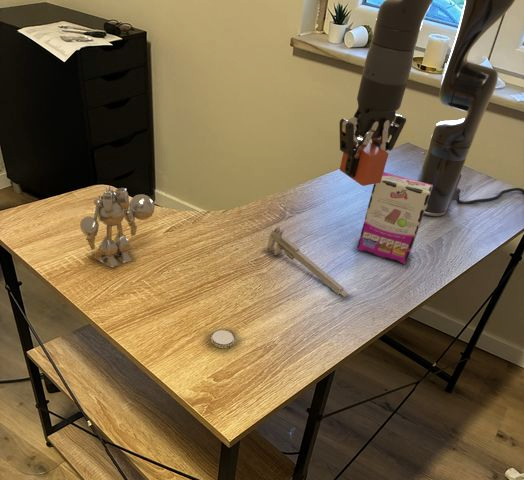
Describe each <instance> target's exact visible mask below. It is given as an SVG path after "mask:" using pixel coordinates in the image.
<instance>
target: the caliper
mask: <svg viewBox="0 0 524 480" xmlns="http://www.w3.org/2000/svg"><path fill="white" fill-rule="evenodd" d="M283 233H284V229H282V230H281V227H280V226H276V227H275V229H272V230H271V233H270V234H269V237H268V242H267V252H271V251H272V250H273V249H274V251H273V256H277V255H278V254H280V253H281V252H282V251H283V253H284V254H285V255H286V256H287V257H289V258H290V260H296V261H298V262H299V263H300V264H301V265H302V266H303V267H305V268H306V269H307V270H308V271H309V272H310V273H312V274H313V275H314V276H315V277H316V278H317V279H319V280H320V281H321V282H322V283H324V285H326V286H327V287H328V288H329V289H330V290H331V291H333V292H334V293H335V294H337V295H338V296H339V295H341V296H342V297H343V298H345V297H347V296H348V292H346V291H345V288H344V286H342V285H341V284H340V283H339V282H338V281H336V279H334V278H333V277H332V276H330V275H329V274H328V273H327V272H326V271H324V269H322V267H320V266H319V265H318V264H316V263H315V262H314V261H313V260H311V259H310V258H309V257H308V256H307V255H305V254H304V253H303V252H301V250H300V248H299V246H297V245H296V244H295V243H294V242H292V241H291V240H290V239H289V238H288V237H287V236H286V235H283ZM275 244H277V245H276V247H275V248H274V246H275Z"/></svg>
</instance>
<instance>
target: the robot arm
mask: <svg viewBox="0 0 524 480" xmlns="http://www.w3.org/2000/svg"><path fill="white" fill-rule="evenodd" d="M433 1H434V0H384V1H383V2H382V3H381V4H380V6H379V8H378V11H377V16H376V19H375V24H374V29H373V34H372V38H371V41H370V45H369V48H368V51H367V53H366V57H365V61H364V64H363V69H362V73H361V79H360V84H359V88H358V91H357V97H356V101H357V105H358V106H357V108H356V111H355V113H354V114H353V116H352V117H351V118H348V119H346V118H341V119H340V120H339V151H340V152H342V153H343V152H344V153H345V154H347V155H348V157H347V161H346V165H345V173H346V174H345V173H344V174H345V176H347V177H349V178H350V177H351V179H352V178H353V177H355V176H356V172H357V168H358V164H359V160H360V158H359V157H360V155H361V153H362V151H363V149H364V147H366V146H367V145H368V143H369V142H371V143H373V144H374V145H376V146H377V147H379V148H381V149H382V150H384V151H386V152H388V151H392V150H393V149H394V147H395V145H396V143H397V140H399V139H398V138H399V137H400V135H401V133H402V131H403V130H404V129H403V128H404V127H405V124H406V122H407V118H406V117H404V116H402V115H400V114H398V113H397V111H399V109H400V108H401V106H402V102H403V98H404V95H405V92H406V89H407V88H406V87H407V84H408V81H409V78H410V74H411V71H412V66H413V61H414V56H415V55H414V54H415V50H416V46H417V43H418V40H419V35H420V32H421V28H422V25H423V21H424V20H425V18H426V15H427V13H428V12H429V9H430V7H431V6H432V3H433ZM515 2H516V0H464V5H463V8H462V13H461V16H460V21H459V24H458V29H457V33H456V36H455V40H454V43H453V46H452V49H451V52H450V55H449V58H448V61H447V65H446V67H445V71H444V74H443V77H442V81H441V85H440V89H439V96H438V97H439V102H440V103H441V104H442V105H444V106H446V107H449V108H451V109H456V110H459V111H461V112H464V113H466V115H465V117H463V118H460V119H453V120H451V119H450V120H443V121H439V122H438V123H436V124H435V126H434V128H433V131H432V134H431V137H430V141H429V143H428V146H427V149H426V152H425V156H424V159H423V162H422V165H421V167H420V169H419V173H418V177H417V179H416V181H420V182H423V183H427V184H431V185H433V187H432V190H431V193H430V196H429V199H428V202H427V205H426V208H425V211H424V214H423V216H428V217H442V216H444V215H445V214H447V212H448V211H449V209H450V208H451V204H452V202H456V203H457V204H459V205H471V204H477V203H485V202H491V201H495V200H499V198H501V196H502V195H504V194H506V193H511V192H517V191H518V192H521V193H522V194H523V195H524V188H520V187H514V188H513V187H512V188H507V189H503V190H501V191H500V192H499V193H498V194H497V195H496V196H492V197H488V198H477V199H473V200H467V201H464V200H460V194H461V191H462V189H461V188H460V187H458V186H459V184H460V181H461V179H462V171H463V168H464V165H465V163H466V160H467V158H468V156H469V153H470V150H471V147H472V145H473V142H474V139H475V137H476V134H477V132H478V129H479V127H480V124H481V122H482V119H483V118H484V117H483V116H484V114H485V112H486V110H487V108H488V105H489V104H490V101H491V99H492V97H493V95H494V92H495V90H496V87H497V83H498V79H499V73H498V71H497V70H496V69H495V68H493V67H489V66H485V65H481V64H478V63H474V62H470V61H468V57H469V54H470V52H471V50H472V49H473V47H474V46H475V44H476V43H477V42H478V41H479V40H480V39H481V37H482V36H483V35H484V34H485V33H486V32H487V31H488V30H489V29H490V28H492V27H493V26H494V25H495V24H496V23H497V22H498V21H499V20H500V19H501V18H502V17H503V16H504V15H505V14H506V13H507V12H508V11H509V9H510V8H511V7H512V6H513V5H514V3H515ZM360 137H361V138H360ZM390 137H391V138H390ZM357 143H358V146H357V149H356V150H355V146H356V145H357Z"/></svg>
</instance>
